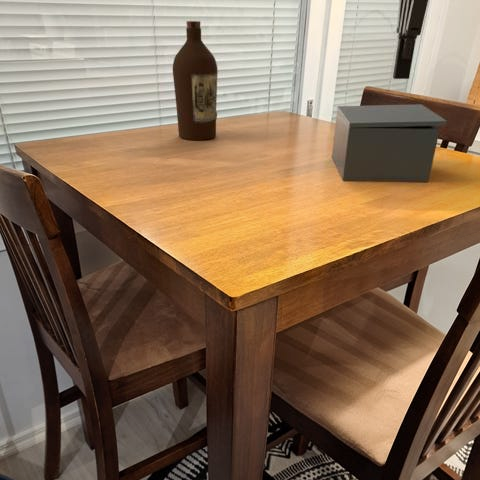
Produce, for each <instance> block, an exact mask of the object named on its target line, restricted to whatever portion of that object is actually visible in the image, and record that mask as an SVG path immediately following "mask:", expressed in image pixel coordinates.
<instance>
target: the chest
mask: <svg viewBox="0 0 480 480" xmlns="http://www.w3.org/2000/svg"><path fill="white" fill-rule="evenodd" d="M335 115H336V116H335V124H334V132H333V142H332V151H331V152H332V153H331V159H332V161H333V163H334V166H335V168H336V170H337V172H338V174H339V176H340V178H341V180H342V181H344V182H388V183H389V182H392V183H393V182H395V183H396V182H397V183H399V182H400V183H429V181H430V176H431V173H432V172H431V171H432V167H433V162H434V158H435V153H436V149H437V145H438V140H439V134H440V130H441V129H440V128H438V126H404V127H406V128H379V127H355V128H349V126H348V125H347V124H346V122H345V121H344V119H343V118H342V117H341V115H340V114H339V112H338V111H337V110H336V114H335Z"/></svg>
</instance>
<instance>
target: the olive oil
mask: <svg viewBox="0 0 480 480" xmlns="http://www.w3.org/2000/svg"><path fill="white" fill-rule="evenodd" d="M185 23H186V31H185V32H186V41H185V42H184V44H183V45H182V47H180V49H179V50H178V52H177V53H176V55H174V58H173V63H172V79H173V88H174V97H175V107H176V116H177V117H176V118H177V131H178V137H179V138H181V139H182V140H188V141H206V140H211V139H215V138H216V136H217V118H218V112H217V103H218V102H217V97H218V64H217V60H216V58H215V56H214V55H213V53H212V52H211V50H210V49H209V48H208V47H207V46H206V44H205V43H204V42H203V40H202V28H201V20H187V21H186V22H185Z"/></svg>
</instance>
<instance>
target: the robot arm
mask: <svg viewBox="0 0 480 480" xmlns="http://www.w3.org/2000/svg"><path fill="white" fill-rule="evenodd" d="M428 3H429V0H399V2H398V11H397V22H396V23H397V24H396V28H395V29H396V30H395V31H396V34H397V40H398V41H397V48H396V53H395V54H396V55H395V61H394V65H393V66H394V67H393V73H392V79H394V80H409V79H410V74H411V69H412V63H413V57H414V52H415V45H416V39H417V38H418V36H420V35H421V33H422V29H423V25H424V20H425V18H426V17H425V15H426V13H427V12H426V11H427V8H428Z"/></svg>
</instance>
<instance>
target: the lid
mask: <svg viewBox="0 0 480 480" xmlns="http://www.w3.org/2000/svg"><path fill="white" fill-rule="evenodd" d="M337 111H338V112H339V114H340V115H341V117H342V118H343V119H344V121H345V122H346V124H347V125H348V126H349V128H355V127H402V126H436V127H443V126H447V125H448V124H447V123H448V120H446V119H445V118H443V117H441V115H439V114H437V113H436V112H434V111H432V110H431V109H430V108H428V107H426V106H425V105H424V104H421V103H418V104H416V103H415V104H380V105H379V104H378V105H376V104H375V105H373V104H372V105H338V106H336V112H337Z"/></svg>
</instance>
